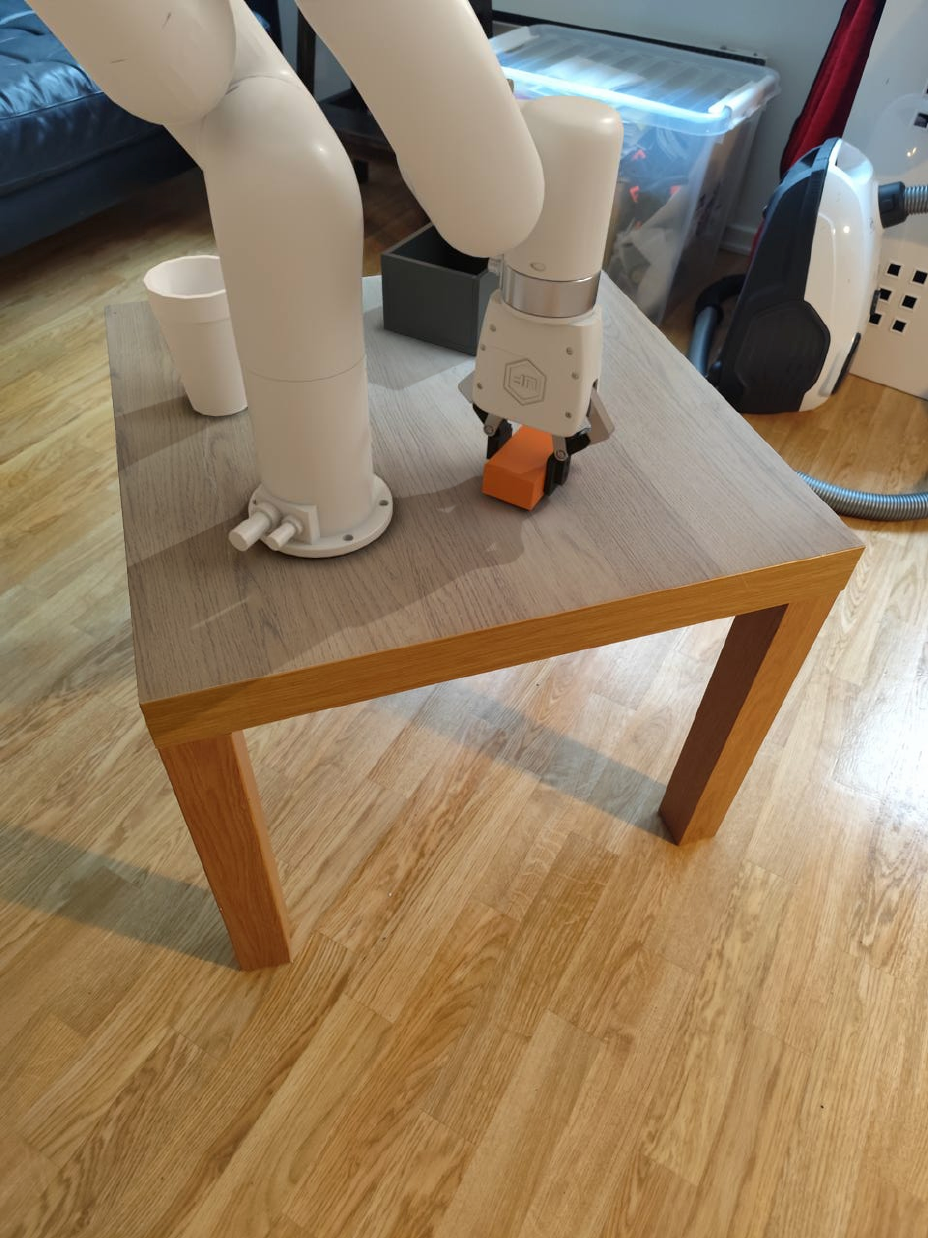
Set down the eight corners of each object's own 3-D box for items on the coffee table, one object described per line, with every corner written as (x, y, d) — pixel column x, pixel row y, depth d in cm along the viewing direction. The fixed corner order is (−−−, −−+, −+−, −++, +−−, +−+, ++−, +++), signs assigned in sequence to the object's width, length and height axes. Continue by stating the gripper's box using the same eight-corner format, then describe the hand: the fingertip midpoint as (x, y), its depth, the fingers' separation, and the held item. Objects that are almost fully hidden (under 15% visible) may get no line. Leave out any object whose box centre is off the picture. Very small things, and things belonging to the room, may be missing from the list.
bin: (476, 356, 94) (479, 279, 87) (383, 328, 98) (380, 253, 91) (535, 304, 103) (541, 231, 97) (448, 280, 107) (449, 210, 101)
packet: (530, 510, 74) (534, 483, 71) (481, 492, 75) (483, 465, 73) (566, 467, 79) (571, 440, 77) (520, 450, 80) (523, 424, 78)
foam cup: (166, 387, 87) (134, 264, 78) (251, 369, 90) (230, 248, 81) (189, 433, 81) (157, 305, 72) (279, 411, 84) (259, 287, 75)
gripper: (431, 274, 64) (426, 468, 77) (635, 333, 59) (593, 530, 72) (476, 243, 69) (465, 431, 82) (669, 295, 64) (624, 486, 76)
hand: (525, 475), depth 77 cm, fingers closed on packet, 5 cm apart
